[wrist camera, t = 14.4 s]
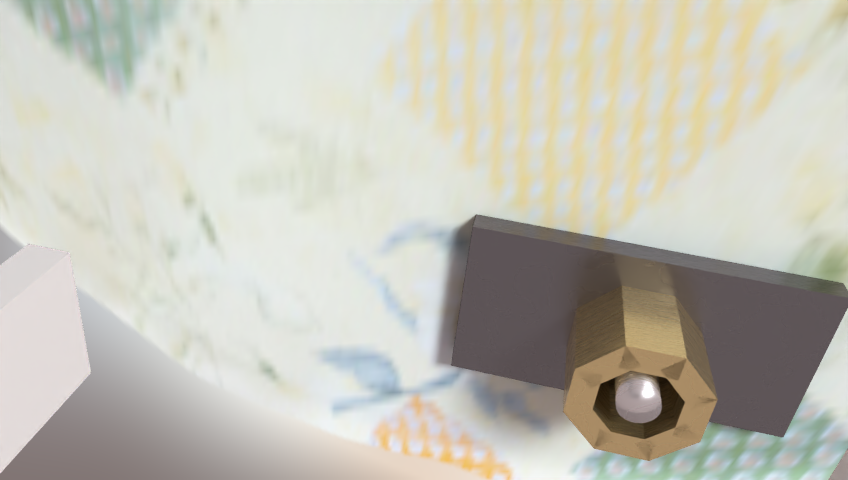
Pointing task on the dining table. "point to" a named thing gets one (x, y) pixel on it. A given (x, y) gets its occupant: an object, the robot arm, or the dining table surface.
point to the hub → (642, 352)
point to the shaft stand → (657, 272)
